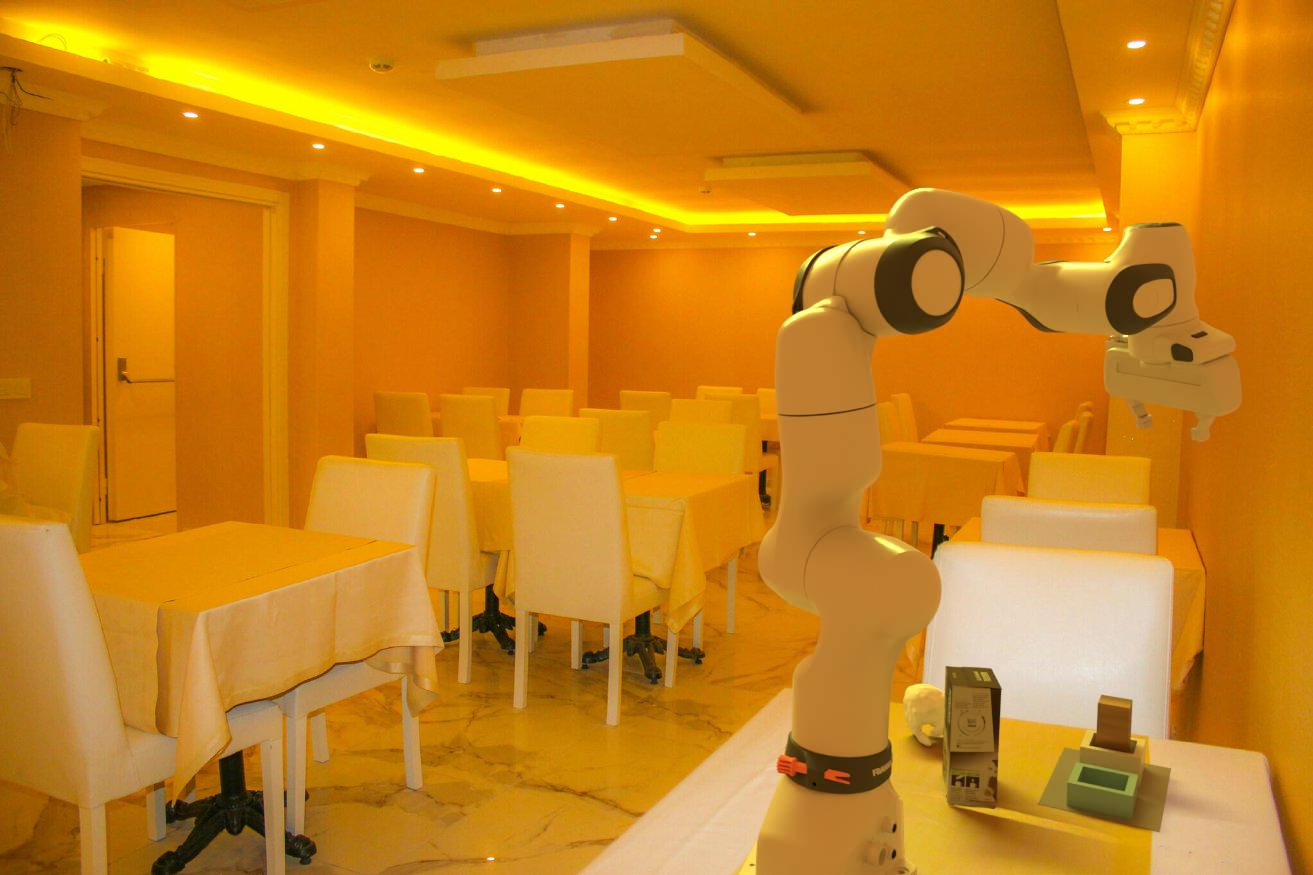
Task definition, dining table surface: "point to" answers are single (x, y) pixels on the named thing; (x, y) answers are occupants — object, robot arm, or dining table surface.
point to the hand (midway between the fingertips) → (1171, 433)
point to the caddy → (1109, 784)
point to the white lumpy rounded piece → (924, 710)
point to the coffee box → (971, 735)
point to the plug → (1114, 723)
